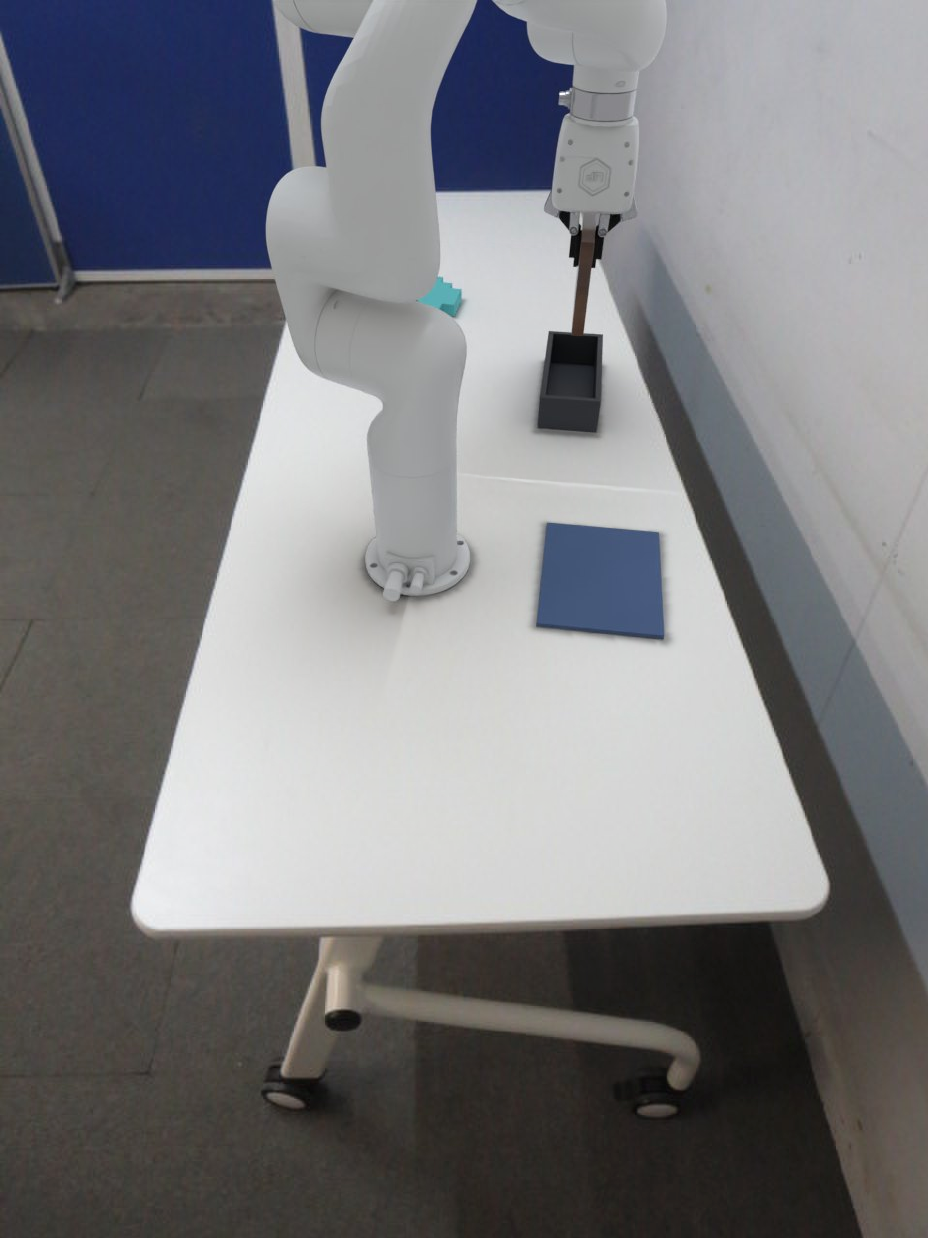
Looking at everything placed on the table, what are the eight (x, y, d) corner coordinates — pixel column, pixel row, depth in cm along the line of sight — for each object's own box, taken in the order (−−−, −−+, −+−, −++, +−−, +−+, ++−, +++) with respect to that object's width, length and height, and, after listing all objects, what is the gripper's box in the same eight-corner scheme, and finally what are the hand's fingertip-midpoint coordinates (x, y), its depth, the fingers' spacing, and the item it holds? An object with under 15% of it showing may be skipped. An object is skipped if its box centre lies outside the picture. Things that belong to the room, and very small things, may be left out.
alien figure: (335, 322, 142) (446, 333, 139) (334, 310, 140) (445, 321, 137) (367, 276, 155) (468, 285, 153) (366, 265, 154) (468, 274, 151)
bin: (596, 435, 116) (600, 401, 112) (537, 431, 117) (539, 397, 113) (598, 366, 131) (603, 334, 127) (546, 363, 132) (548, 330, 128)
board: (583, 336, 107) (594, 242, 98) (571, 335, 107) (581, 241, 98) (586, 287, 118) (596, 199, 109) (575, 287, 118) (584, 199, 110)
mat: (663, 639, 88) (664, 635, 88) (536, 626, 89) (536, 623, 89) (658, 535, 101) (659, 531, 100) (546, 525, 102) (547, 522, 101)
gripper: (533, 109, 93) (523, 270, 106) (671, 115, 92) (644, 278, 104) (538, 94, 98) (528, 249, 111) (668, 100, 97) (642, 256, 110)
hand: (584, 262), depth 108 cm, fingers closed on board, 1 cm apart
